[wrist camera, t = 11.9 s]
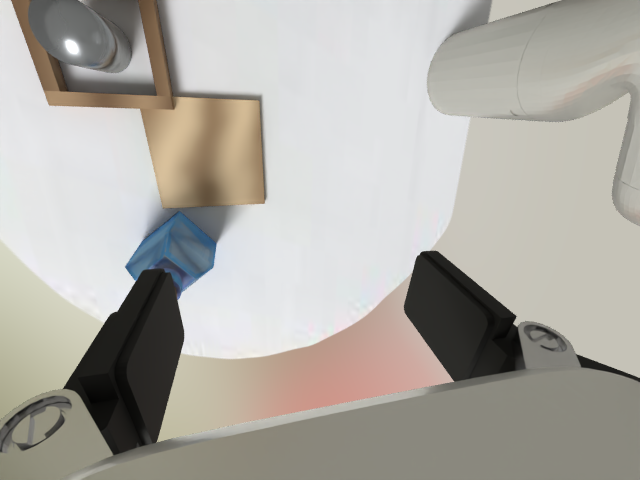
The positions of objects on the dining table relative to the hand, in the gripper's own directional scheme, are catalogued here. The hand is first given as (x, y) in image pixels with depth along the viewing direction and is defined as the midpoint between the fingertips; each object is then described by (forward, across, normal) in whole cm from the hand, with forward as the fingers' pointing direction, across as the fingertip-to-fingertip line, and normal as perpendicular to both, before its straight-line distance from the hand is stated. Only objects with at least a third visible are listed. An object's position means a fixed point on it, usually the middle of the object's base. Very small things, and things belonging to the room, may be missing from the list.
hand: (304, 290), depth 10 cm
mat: (+27, +6, 0) cm, 27 cm away
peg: (+27, +15, -10) cm, 32 cm away
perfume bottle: (+27, +11, +11) cm, 31 cm away
